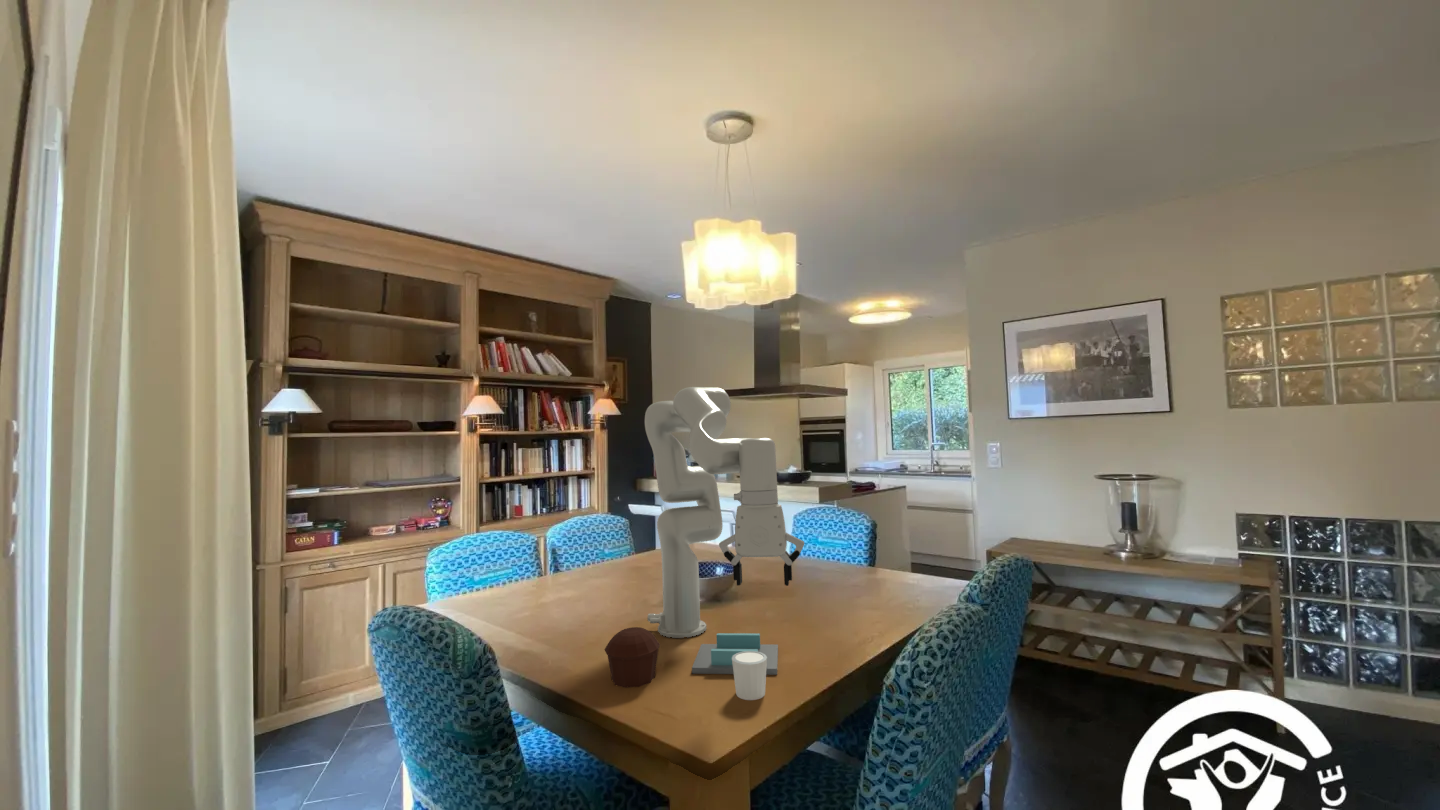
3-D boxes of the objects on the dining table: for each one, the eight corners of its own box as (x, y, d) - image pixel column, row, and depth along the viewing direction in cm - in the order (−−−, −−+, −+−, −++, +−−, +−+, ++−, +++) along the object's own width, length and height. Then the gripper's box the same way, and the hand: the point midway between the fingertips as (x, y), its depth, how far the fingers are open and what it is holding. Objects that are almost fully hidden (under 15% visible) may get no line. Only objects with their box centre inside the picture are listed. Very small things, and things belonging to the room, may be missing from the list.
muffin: (630, 664, 129) (629, 618, 129) (671, 673, 123) (669, 625, 124) (593, 684, 119) (592, 635, 119) (636, 695, 113) (634, 643, 114)
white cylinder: (769, 701, 109) (768, 663, 109) (733, 702, 109) (731, 664, 109) (767, 685, 116) (765, 649, 116) (732, 686, 116) (731, 650, 116)
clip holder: (692, 673, 123) (691, 653, 123) (701, 649, 137) (701, 631, 137) (777, 674, 121) (776, 654, 121) (778, 649, 135) (777, 631, 135)
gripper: (714, 501, 116) (717, 588, 115) (801, 499, 113) (805, 589, 112) (720, 497, 123) (724, 579, 122) (802, 496, 120) (806, 579, 119)
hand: (763, 584), depth 117 cm, fingers open, 9 cm apart
